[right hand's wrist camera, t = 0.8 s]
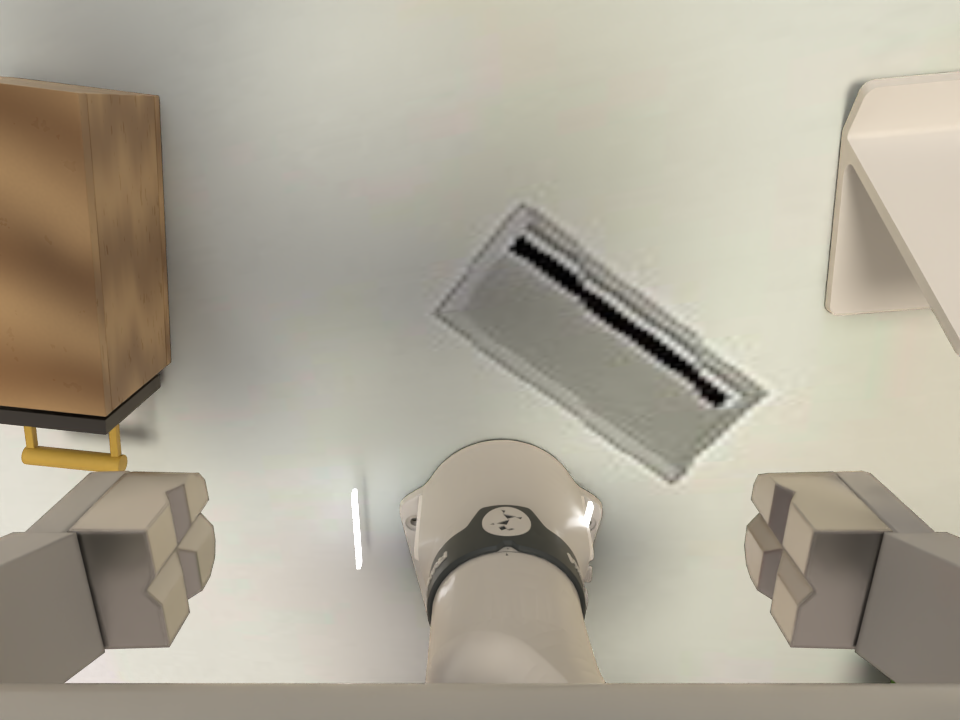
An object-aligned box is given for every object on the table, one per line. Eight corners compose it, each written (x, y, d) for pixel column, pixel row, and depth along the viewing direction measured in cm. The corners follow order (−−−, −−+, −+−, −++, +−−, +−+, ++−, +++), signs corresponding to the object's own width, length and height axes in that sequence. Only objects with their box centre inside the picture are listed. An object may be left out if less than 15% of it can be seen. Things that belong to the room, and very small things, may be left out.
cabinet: (171, 362, 58) (106, 416, 48) (45, 348, 57) (-49, 400, 47) (159, 95, 50) (78, 93, 40) (14, 77, 50) (-105, 69, 40)
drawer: (163, 443, 60) (111, 498, 51) (54, 432, 59) (-16, 486, 51) (147, 139, 51) (81, 145, 42) (19, 123, 50) (-74, 127, 42)
